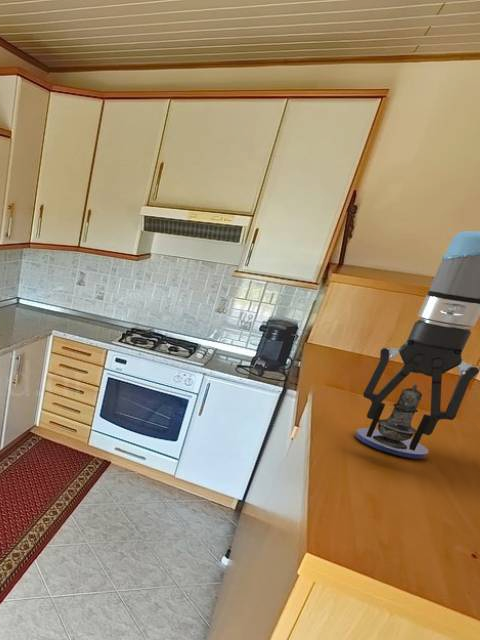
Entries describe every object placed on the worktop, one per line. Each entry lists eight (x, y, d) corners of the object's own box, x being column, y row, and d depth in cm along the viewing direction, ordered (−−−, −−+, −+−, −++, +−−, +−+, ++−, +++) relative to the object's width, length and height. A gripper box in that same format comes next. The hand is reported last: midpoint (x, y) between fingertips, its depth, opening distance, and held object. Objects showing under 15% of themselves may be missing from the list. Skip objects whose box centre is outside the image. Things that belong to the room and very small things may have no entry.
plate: (441, 462, 98) (444, 456, 98) (386, 458, 97) (389, 452, 97) (390, 436, 110) (393, 430, 109) (340, 432, 109) (343, 426, 108)
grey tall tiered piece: (387, 436, 97) (412, 379, 93) (417, 450, 91) (445, 391, 87) (362, 435, 96) (387, 378, 91) (391, 449, 90) (419, 389, 86)
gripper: (376, 313, 88) (329, 428, 96) (523, 340, 77) (456, 467, 85) (378, 310, 94) (334, 419, 102) (516, 334, 82) (454, 455, 90)
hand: (390, 441), depth 93 cm, fingers closed on grey tall tiered piece, 6 cm apart
